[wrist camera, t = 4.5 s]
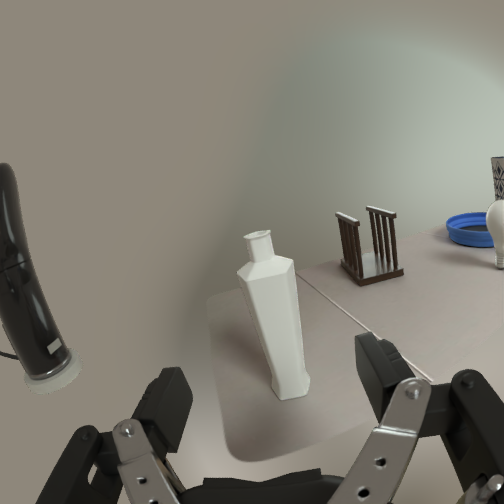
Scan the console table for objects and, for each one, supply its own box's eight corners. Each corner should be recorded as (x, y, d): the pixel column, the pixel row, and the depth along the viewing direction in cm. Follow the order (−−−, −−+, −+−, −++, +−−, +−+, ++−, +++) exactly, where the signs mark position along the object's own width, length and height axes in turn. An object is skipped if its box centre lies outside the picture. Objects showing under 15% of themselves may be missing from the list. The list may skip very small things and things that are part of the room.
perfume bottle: (273, 371, 27) (238, 232, 24) (315, 371, 26) (288, 223, 22) (261, 402, 23) (215, 247, 20) (308, 403, 22) (275, 237, 18)
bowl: (436, 245, 49) (435, 228, 48) (458, 224, 57) (457, 211, 56) (512, 252, 33) (512, 234, 32) (517, 228, 41) (517, 213, 41)
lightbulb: (507, 259, 32) (507, 195, 29) (523, 272, 26) (524, 201, 24) (480, 263, 35) (478, 198, 32) (493, 278, 29) (494, 204, 27)
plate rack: (403, 275, 41) (398, 212, 38) (360, 286, 42) (352, 222, 39) (377, 256, 52) (371, 205, 50) (341, 264, 53) (332, 212, 51)
